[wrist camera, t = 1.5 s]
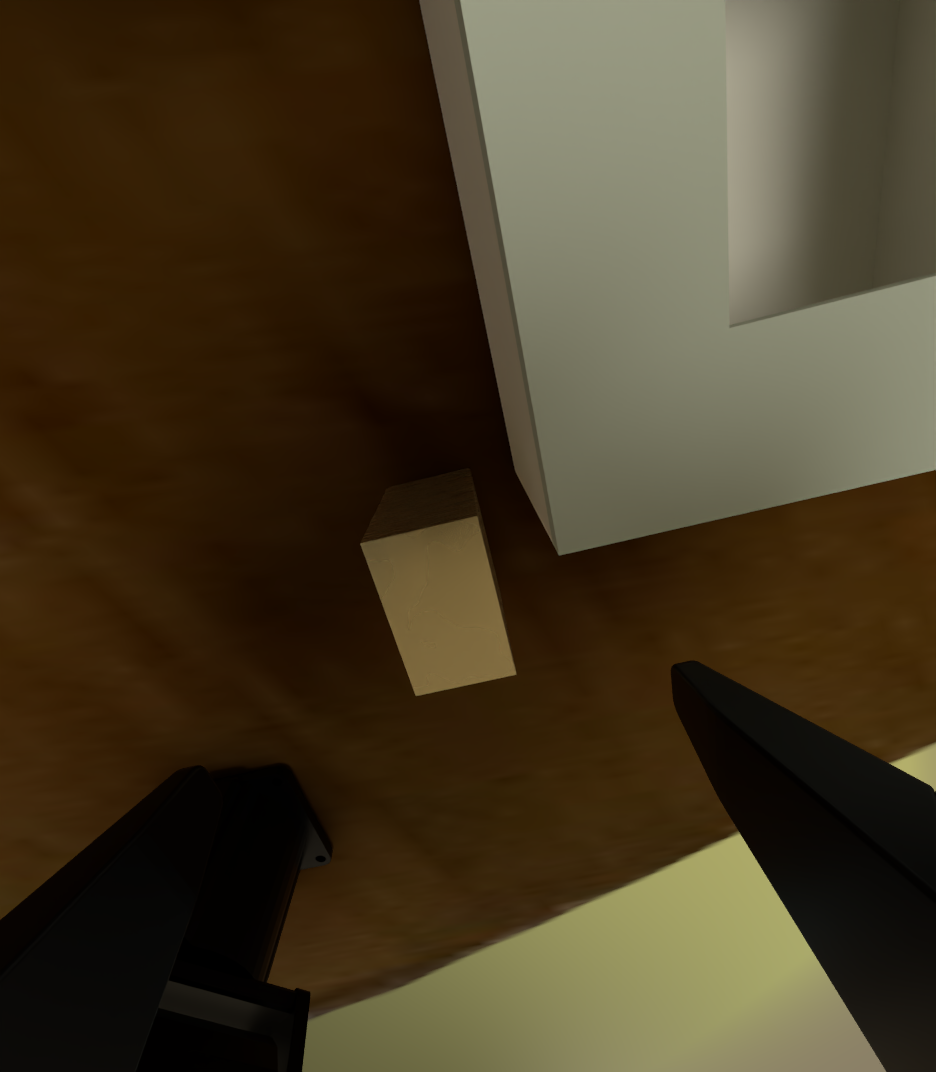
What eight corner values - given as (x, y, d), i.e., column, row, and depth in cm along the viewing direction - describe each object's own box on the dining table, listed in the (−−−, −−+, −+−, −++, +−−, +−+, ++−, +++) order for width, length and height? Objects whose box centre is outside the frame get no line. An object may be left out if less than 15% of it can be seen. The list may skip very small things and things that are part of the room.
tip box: (867, 386, 15) (1188, 412, 8) (514, 471, 16) (559, 555, 9) (935, -280, 10) (1933, -1590, 3) (397, -105, 10) (305, -868, 4)
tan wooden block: (499, 589, 17) (516, 674, 13) (425, 606, 18) (415, 696, 13) (470, 467, 16) (476, 516, 11) (387, 487, 16) (359, 543, 11)
